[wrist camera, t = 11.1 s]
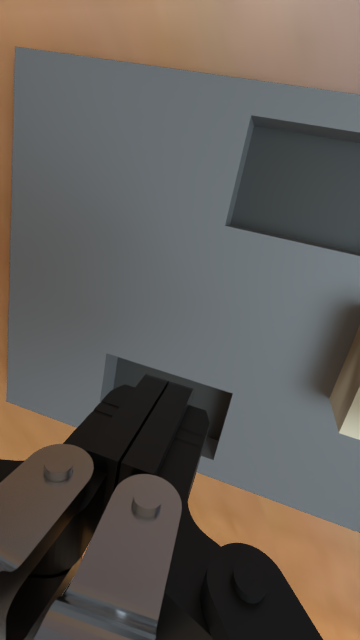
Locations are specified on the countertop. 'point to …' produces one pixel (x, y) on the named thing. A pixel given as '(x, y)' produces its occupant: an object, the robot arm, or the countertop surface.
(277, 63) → the countertop surface
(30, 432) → the countertop surface
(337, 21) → the countertop surface
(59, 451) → the robot arm
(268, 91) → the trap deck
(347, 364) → the birch block
